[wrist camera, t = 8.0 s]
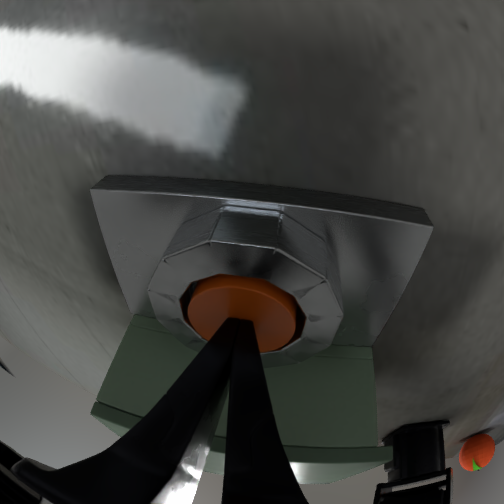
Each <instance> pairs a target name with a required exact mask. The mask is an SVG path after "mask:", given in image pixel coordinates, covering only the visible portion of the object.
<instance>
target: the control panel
mask: <svg viewBox="0 0 504 504" xmlns="http://www.w3.org/2000/svg"><path fill="white" fill-rule="evenodd" d="M90 193H91V197H92V201H93V205H94V208H95V212H96V215H97V219H98V222H99V226H100V229H101V232H102V235H103V239H104V242H105V245H106V248H107V251H108V254H109V257H110V260H111V263H112V265H113V268H114V271H115V274H116V276H117V279H118V282H119V285H120V287H121V290H122V292H123V295H124V297H125V300H126V302H127V305H128V307H129V310H130V312H131V313H133V314H137V315H142V316H146V317H151V318H156V319H157V320H158V322H160V323H161V324H162V325H163V326H164V327H165V328H166V329H167V330H168V331H169V332H170V333H171V334H172V335H173V336H174V337H175V338H176V339H177V340H178V341H180V342H181V343H182V344H183V345H184V346H186V347H188V348H190V349H192V350H194V351H196V352H200V351H201V349H202V348H203V347H204V346H205V344H206V343H207V342H208V340H207V339H205V338H204V337H202V336H201V335H200V334H199V333H198V332H197V331H196V330H195V329H194V327H193V326H192V324H191V322H190V320H189V317H188V306H189V303H190V300H191V298H192V295H193V293H194V290H195V287H196V285H197V282H198V281H199V280H203V279H206V278H209V277H213V276H216V275H220V274H226V275H233V276H240V277H248V278H256V279H263V280H265V281H266V282H268V283H270V284H272V285H274V286H276V287H277V288H279V289H281V290H283V291H285V292H286V293H288V294H290V295H292V296H293V297H294V299H295V300H296V302H297V312H296V327H295V332H294V335H293V336H292V338H291V339H290V341H289V342H288V343H286V344H285V345H284V346H282V347H280V348H278V349H275V350H272V351H268V352H262V353H260V355H261V359H262V364H263V368H271V367H278V366H285V365H292V364H299V363H300V362H303V361H305V360H306V359H308V358H310V357H312V356H313V355H315V354H317V353H319V352H320V351H322V350H324V349H325V348H327V347H329V346H330V345H331V344H333V345H347V346H362V347H372V345H373V344H374V342H375V341H376V339H377V338H378V336H379V334H380V333H381V331H382V329H383V328H384V326H385V324H386V323H387V321H388V319H389V317H390V316H391V314H392V312H393V310H394V309H395V307H396V305H397V303H398V301H399V300H400V298H401V296H402V294H403V292H404V290H405V288H406V287H407V285H408V283H409V281H410V279H411V277H412V275H413V273H414V271H415V269H416V267H417V265H418V262H419V260H420V258H421V256H422V254H423V252H424V250H425V247H426V245H427V243H428V241H429V238H430V236H431V234H432V231H433V229H434V226H433V224H432V223H431V221H430V219H429V217H428V216H427V214H426V212H425V211H424V209H421V208H416V207H411V206H406V205H401V204H396V203H390V202H385V201H379V200H373V199H367V198H361V197H355V196H349V195H342V194H336V193H329V192H322V191H314V190H307V189H299V188H290V187H282V186H273V185H264V184H254V183H243V182H231V181H219V180H205V179H190V178H171V177H146V176H105V177H104V178H103V179H101V180H100V181H99V182H98V183H97V184H96V185H95V186H93V187H92V188H91V189H90Z"/></svg>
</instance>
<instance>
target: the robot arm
mask: <svg viewBox="0 0 504 504" xmlns="http://www.w3.org/2000/svg"><path fill="white" fill-rule="evenodd" d="M228 392H229V400H228V415H227V430H226V446H225V463H224V480H223V493H222V502H221V504H309V503H308V502H307V500H306V498H305V496H304V495H303V493H302V491H301V488H300V486H299V484H298V482H297V479H296V477H295V475H294V472H293V470H292V468H291V465H290V463H289V460H288V458H287V455H286V453H285V450H284V447H283V445H282V442H281V439H280V436H279V432H278V428H277V425H276V420H275V416H274V414H273V408H272V403H271V399H270V395H269V390H268V386H267V382H266V377H265V373H264V368H263V364H262V359H261V355H260V350H259V346H258V341H257V337H256V332H255V328H254V323H253V321H252V320H246V319H241V320H240V319H238V318H232V317H228V318H227V319H226V320H225V321H224V322H223V324H222V325H221V326H220V327H219V328H218V330H217V331H216V332H215V333H214V335H213V336H212V337H211V338H210V340H209V341H208V342H207V343H206V344H205V346H204V347H203V348H202V349H201V351H200V352H199V353H198V354H197V355H196V357H195V358H194V359H193V360H192V362H191V363H190V364H189V365H188V366H187V368H186V369H185V370H184V371H183V372H182V374H181V375H180V376H179V377H178V379H177V380H176V381H175V382H174V383H173V385H172V386H171V387H170V388H169V389H168V391H167V392H166V393H167V394H164V395H163V396H162V398H161V399H160V400H159V401H158V402H157V403H156V404H155V406H154V407H153V408H152V409H151V410H150V411H149V412H148V413H147V414H146V415H145V416H144V417H143V418H142V419H141V420H140V421H139V422H138V423H137V424H136V425H134V426H133V427H132V428H131V429H130V430H129V431H128V432H127V433H125V434H124V435H123V436H122V437H121V438H120V439H119V440H117V441H116V442H115V443H114V444H113V445H112V446H110V447H109V448H107V449H106V450H104V451H103V452H101V453H99V454H97V455H94V456H92V457H89V458H87V459H85V460H82V461H79V462H77V463H74V464H71V465H69V466H66V467H63V468H61V469H55V468H52V467H49V466H47V465H44V464H42V463H39V462H38V461H35V460H33V459H30V458H24V457H23V456H21V455H20V454H19V453H17V452H16V451H15V450H13V449H12V448H11V447H9V446H8V445H6V444H5V443H3V442H2V441H0V504H191V503H192V500H193V497H194V494H195V491H196V488H197V485H198V483H199V480H200V479H199V478H200V477H201V474H202V471H203V468H204V465H205V462H206V459H207V456H208V453H209V450H210V447H211V444H212V441H213V438H214V435H215V432H216V429H217V426H218V423H219V419H220V416H221V413H222V410H223V407H224V404H225V401H226V398H227V395H228ZM449 424H450V421H442V422H435V423H427V424H418V425H408V426H404V427H402V428H401V429H399V430H398V431H396V432H395V433H393V434H392V435H390V436H388V437H387V438H385V439H384V440H382V444H384V446H392V447H393V460H391V461H389V462H387V463H384V470H385V472H388V483H379V484H378V485H377V488H376V491H375V497H374V502H373V504H452V495H453V470H452V468H451V467H449V468H446V469H445V451H444V438H443V428H444V427H446V426H448V425H449ZM444 476H446V480H443V481H439V482H435V483H431V484H428V485H423V486H419V487H414V488H410V489H405V490H399V491H394V492H392V488H397V487H403V486H408V485H412V484H417V483H421V482H426V481H430V480H433V479H437V478H441V477H444ZM445 487H446V490H443V489H442V488H445Z"/></svg>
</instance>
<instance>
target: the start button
mask: <svg viewBox="0 0 504 504" xmlns="http://www.w3.org/2000/svg"><path fill="white" fill-rule="evenodd" d="M296 312H297V302H296V300H295V299H294V297H293V296H292V295H290V294H288V293H286V292H285V291H283V290H281V289H279V288H277V287H276V286H274V285H272V284H270V283H268V282H266V281H265V280H263V279H256V278H248V277H240V276H233V275H226V274H220V275H216V276H213V277H209V278H206V279H203V280H199V281H198V282H197V285H196V287H195V290H194V293H193V295H192V298H191V300H190V303H189V306H188V317H189V320H190V322H191V324H192V326H193V327H194V329H195V330H196V331H197V332H198V333H199V334H200V335H201V336H202V337H204V338H205V339H207V340H208V341H209V340H210V338H211V337H212V336H213V335H214V333H215V332H216V331H217V330H218V328H219V327H220V326H221V325H222V324H223V322H224V321H225V320H226V319H227V318H228V317H232V318H238V319H240V320H241V319H246V320H252V321H253V323H254V328H255V332H256V337H257V341H258V346H259V350H260V353H262V352H268V351H272V350H275V349H278V348H280V347H282V346H284V345H285V344H286V343H288V342H289V341H290V339H291V338H292V336H293V335H294V332H295V327H296Z"/></svg>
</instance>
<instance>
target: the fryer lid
mask: <svg viewBox="0 0 504 504" xmlns="http://www.w3.org/2000/svg"><path fill="white" fill-rule="evenodd" d="M91 415H92V416H93V417H95V418H96V419H98V420H99V421H100V422H101V423H102V424H104V425H105V426H106V427H108V428H109V429H110V430H112V431H113V432H114V433H116V434H117V435H118V436H120V437H122V436H123V435H124V434H125V433H127V432H128V431H129V430H130V429H131V428H132V427H133V426H134V425H136V424H137V423H138V422H139V421H140V420H141V419H142V418H141V417H138V416H135V415H132V414H129V413H126V412H123V411H120V410H117V409H114V408H112V407H109V406H106V405H104V404H101V403H99V402H95V403H94V405H93V408H92V410H91ZM225 446H226V438H222V437H216V436H214V438H213V441H212V444H211V447H210V450H209V453H208V456H207V459H206V462H205V465H204V468H203V471H205V472H210V473H215V474H221V475H224V463H225ZM283 447H284V450H285V453H286V455H287V458H288V460H289V463H290V465H291V468H292V470H293V472H294V475H295V477H296V479H297V482H298V483H302V484H329V483H332V482H335V481H338V480H342V479H345V478H347V477H351V476H353V475H356V474H359V473H362V472H364V471H367V470H370V469H372V468H375V467H377V466H380V465H382V464H384V463H387V462H389V461H391V460H393V447H392V446H381V447H364V448H311V447H293V446H283Z"/></svg>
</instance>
